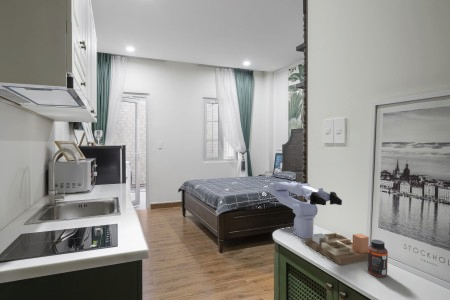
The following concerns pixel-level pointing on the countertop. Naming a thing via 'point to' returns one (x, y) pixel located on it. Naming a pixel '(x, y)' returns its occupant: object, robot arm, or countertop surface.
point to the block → (319, 238)
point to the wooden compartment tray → (338, 259)
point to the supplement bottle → (377, 258)
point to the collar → (341, 250)
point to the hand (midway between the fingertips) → (333, 202)
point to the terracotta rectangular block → (360, 243)
